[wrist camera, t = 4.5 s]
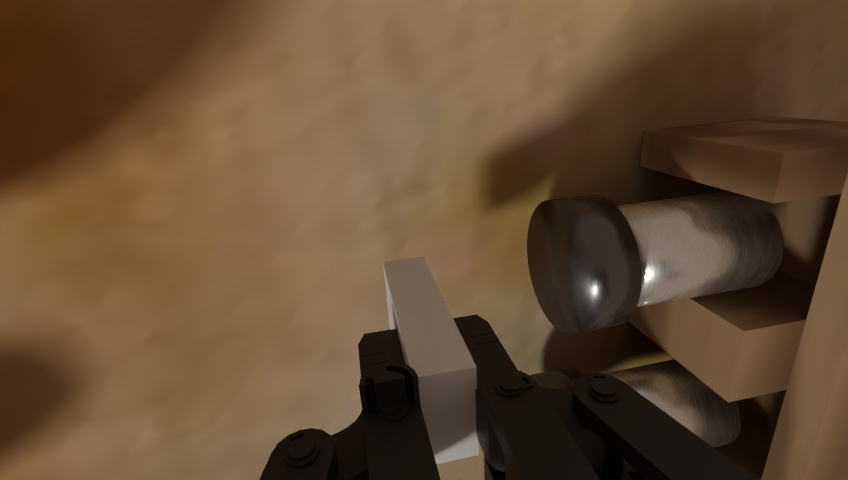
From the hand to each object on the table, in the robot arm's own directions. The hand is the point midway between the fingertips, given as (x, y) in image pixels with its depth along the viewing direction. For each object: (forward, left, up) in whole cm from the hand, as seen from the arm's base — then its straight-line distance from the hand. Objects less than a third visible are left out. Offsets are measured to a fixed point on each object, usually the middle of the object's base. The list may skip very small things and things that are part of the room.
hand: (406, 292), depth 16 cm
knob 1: (+11, 0, -4) cm, 11 cm away
